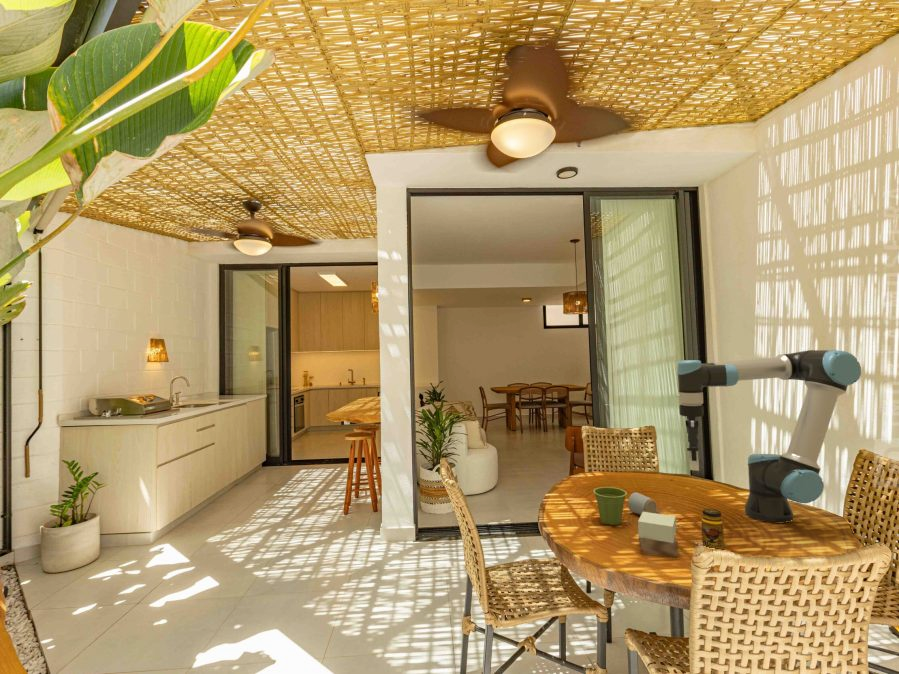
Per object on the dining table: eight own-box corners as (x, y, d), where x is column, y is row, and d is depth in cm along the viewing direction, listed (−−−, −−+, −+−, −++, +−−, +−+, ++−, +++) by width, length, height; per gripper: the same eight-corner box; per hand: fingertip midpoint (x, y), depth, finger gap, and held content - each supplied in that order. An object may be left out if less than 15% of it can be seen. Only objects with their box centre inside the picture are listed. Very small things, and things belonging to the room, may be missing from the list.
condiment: (708, 553, 147) (706, 515, 147) (694, 542, 155) (692, 506, 156) (731, 553, 147) (729, 514, 147) (716, 542, 155) (714, 505, 156)
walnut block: (671, 544, 155) (670, 529, 155) (678, 558, 145) (677, 541, 145) (638, 542, 157) (638, 527, 158) (643, 555, 148) (642, 539, 148)
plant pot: (587, 520, 177) (586, 490, 177) (608, 514, 183) (607, 485, 184) (613, 530, 167) (612, 498, 167) (634, 523, 173) (633, 492, 174)
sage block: (676, 531, 153) (675, 516, 153) (673, 543, 144) (672, 526, 145) (643, 526, 158) (642, 511, 158) (638, 537, 149) (638, 521, 150)
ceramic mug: (645, 520, 176) (644, 499, 177) (627, 513, 184) (627, 493, 184) (664, 515, 181) (663, 495, 182) (646, 509, 189) (645, 489, 189)
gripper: (679, 400, 178) (681, 456, 177) (679, 408, 155) (682, 473, 155) (701, 400, 174) (704, 458, 174) (705, 409, 152) (708, 475, 151)
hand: (693, 465), depth 164 cm, fingers open, 13 cm apart
